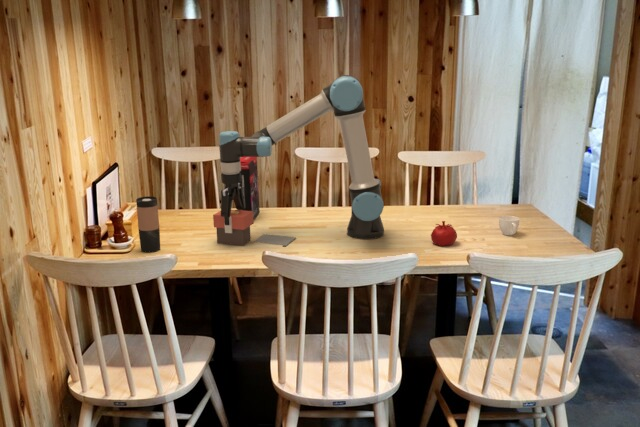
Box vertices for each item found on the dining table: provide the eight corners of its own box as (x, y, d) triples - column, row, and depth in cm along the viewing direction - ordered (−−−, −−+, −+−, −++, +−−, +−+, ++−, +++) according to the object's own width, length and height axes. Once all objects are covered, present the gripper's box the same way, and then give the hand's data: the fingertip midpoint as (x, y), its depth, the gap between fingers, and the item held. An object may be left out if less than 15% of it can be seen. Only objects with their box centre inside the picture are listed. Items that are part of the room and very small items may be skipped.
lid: (253, 223, 245) (253, 210, 244) (244, 229, 237) (243, 216, 236) (224, 221, 249) (223, 208, 248) (213, 227, 241) (213, 213, 240)
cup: (513, 231, 259) (514, 215, 257) (523, 238, 249) (525, 222, 247) (495, 231, 258) (496, 216, 256) (505, 239, 248) (506, 222, 246)
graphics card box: (252, 223, 272) (250, 161, 265) (237, 223, 273) (234, 161, 265) (259, 212, 288) (258, 154, 281) (245, 212, 289) (242, 154, 282)
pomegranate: (461, 245, 242) (463, 222, 239) (441, 249, 237) (443, 226, 234) (444, 238, 250) (446, 215, 247) (424, 241, 245) (426, 219, 243)
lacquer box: (250, 242, 246) (249, 222, 244) (243, 247, 240) (242, 227, 238) (225, 239, 250) (224, 220, 248) (217, 244, 243) (216, 225, 241)
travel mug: (162, 246, 242) (159, 196, 237) (158, 252, 235) (154, 201, 229) (143, 246, 242) (138, 196, 236) (138, 253, 234) (133, 201, 229)
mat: (295, 238, 250) (295, 237, 250) (285, 246, 240) (285, 245, 240) (263, 235, 255) (263, 234, 255) (252, 243, 245) (252, 242, 244)
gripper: (234, 166, 248) (237, 221, 254) (208, 177, 229) (212, 236, 235) (251, 167, 246) (254, 222, 252) (227, 178, 226) (230, 238, 232)
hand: (234, 229), depth 243 cm, fingers closed on lid, 9 cm apart
